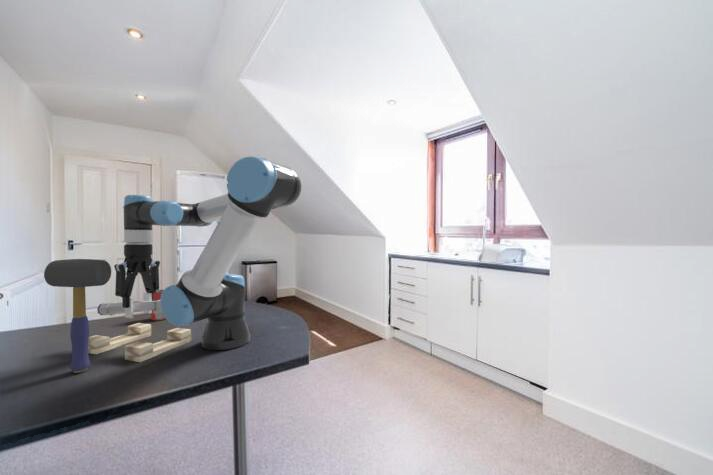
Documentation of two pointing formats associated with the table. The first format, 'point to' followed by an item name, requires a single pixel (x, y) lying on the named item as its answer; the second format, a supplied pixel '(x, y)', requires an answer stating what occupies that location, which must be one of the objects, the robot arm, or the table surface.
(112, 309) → the light grey long bar
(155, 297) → the beer can
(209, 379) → the table surface
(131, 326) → the v block cradle
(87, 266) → the rubber mallet
